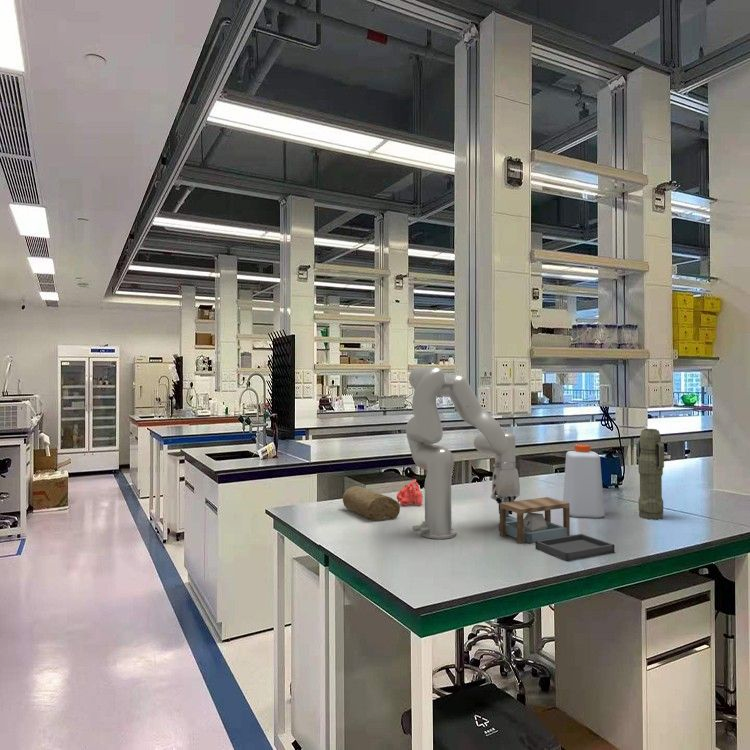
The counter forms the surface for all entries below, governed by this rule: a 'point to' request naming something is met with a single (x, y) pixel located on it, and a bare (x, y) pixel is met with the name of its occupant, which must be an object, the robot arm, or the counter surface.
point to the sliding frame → (549, 533)
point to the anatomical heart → (410, 494)
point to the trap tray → (574, 547)
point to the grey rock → (534, 522)
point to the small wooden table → (533, 506)
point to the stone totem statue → (650, 474)
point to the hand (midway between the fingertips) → (505, 513)
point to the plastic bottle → (583, 483)
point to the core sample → (370, 504)
